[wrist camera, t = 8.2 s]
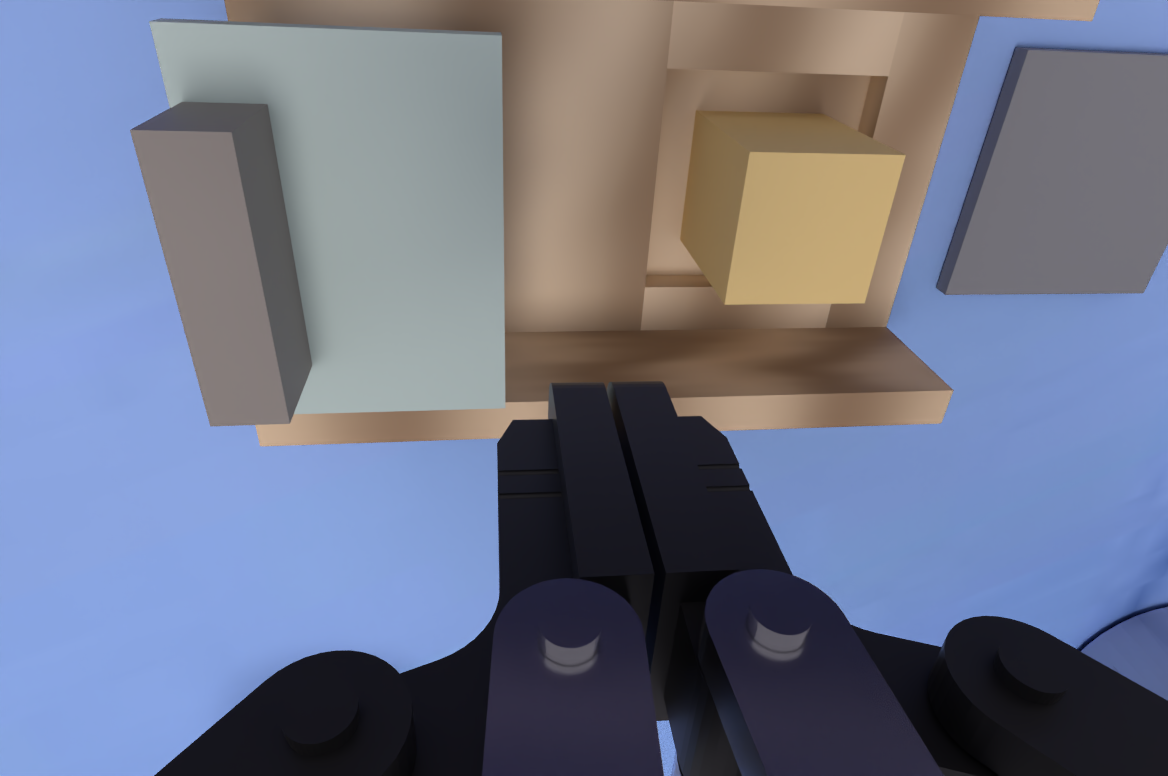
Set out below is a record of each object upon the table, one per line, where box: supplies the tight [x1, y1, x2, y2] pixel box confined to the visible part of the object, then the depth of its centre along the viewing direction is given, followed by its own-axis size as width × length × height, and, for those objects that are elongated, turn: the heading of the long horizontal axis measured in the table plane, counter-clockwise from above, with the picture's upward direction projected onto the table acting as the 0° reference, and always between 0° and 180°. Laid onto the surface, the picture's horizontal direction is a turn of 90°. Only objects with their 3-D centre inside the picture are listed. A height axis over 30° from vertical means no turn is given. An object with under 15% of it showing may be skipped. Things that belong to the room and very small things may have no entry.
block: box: [680, 110, 906, 305], centre depth 21 cm, size 4×4×5 cm
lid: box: [130, 18, 505, 426], centre depth 15 cm, size 6×9×3 cm
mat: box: [936, 47, 1168, 295], centre depth 24 cm, size 8×8×1 cm
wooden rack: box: [224, 0, 1100, 446], centre depth 20 cm, size 20×12×6 cm, turn 87°
